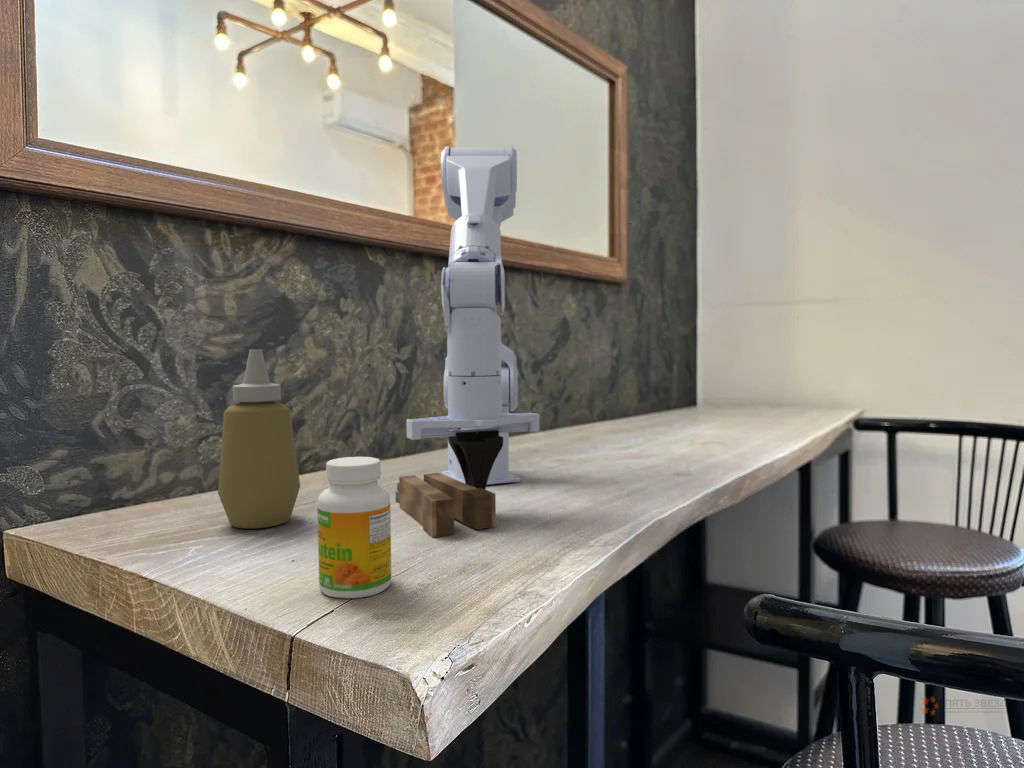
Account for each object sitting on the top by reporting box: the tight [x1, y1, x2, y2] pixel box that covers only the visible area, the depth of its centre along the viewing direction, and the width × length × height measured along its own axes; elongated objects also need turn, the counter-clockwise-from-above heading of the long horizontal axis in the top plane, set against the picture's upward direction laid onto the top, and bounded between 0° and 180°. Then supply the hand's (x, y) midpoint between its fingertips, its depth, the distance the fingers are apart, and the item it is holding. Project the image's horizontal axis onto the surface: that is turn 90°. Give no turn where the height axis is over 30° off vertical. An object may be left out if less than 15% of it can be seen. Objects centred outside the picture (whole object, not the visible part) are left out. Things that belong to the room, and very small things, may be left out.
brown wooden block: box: [394, 474, 455, 538], centre depth 74 cm, size 18×4×4 cm, turn 25°
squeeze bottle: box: [217, 348, 301, 529], centre depth 70 cm, size 8×8×18 cm
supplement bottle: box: [317, 456, 392, 599], centre depth 51 cm, size 5×5×10 cm
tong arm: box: [396, 472, 497, 530], centre depth 74 cm, size 18×4×3 cm, turn 30°
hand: (475, 501), depth 73 cm, fingers closed
